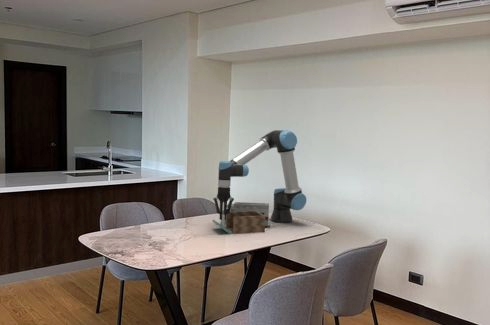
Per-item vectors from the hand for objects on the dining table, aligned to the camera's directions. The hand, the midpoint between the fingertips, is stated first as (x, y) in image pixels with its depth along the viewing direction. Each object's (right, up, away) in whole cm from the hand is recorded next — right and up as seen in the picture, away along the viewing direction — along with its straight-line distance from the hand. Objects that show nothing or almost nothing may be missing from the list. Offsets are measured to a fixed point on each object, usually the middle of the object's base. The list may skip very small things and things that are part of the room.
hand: (222, 224), depth 270 cm
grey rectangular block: (+14, -4, +23) cm, 27 cm away
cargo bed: (+14, -5, +5) cm, 16 cm away
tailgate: (+4, -4, +2) cm, 6 cm away
